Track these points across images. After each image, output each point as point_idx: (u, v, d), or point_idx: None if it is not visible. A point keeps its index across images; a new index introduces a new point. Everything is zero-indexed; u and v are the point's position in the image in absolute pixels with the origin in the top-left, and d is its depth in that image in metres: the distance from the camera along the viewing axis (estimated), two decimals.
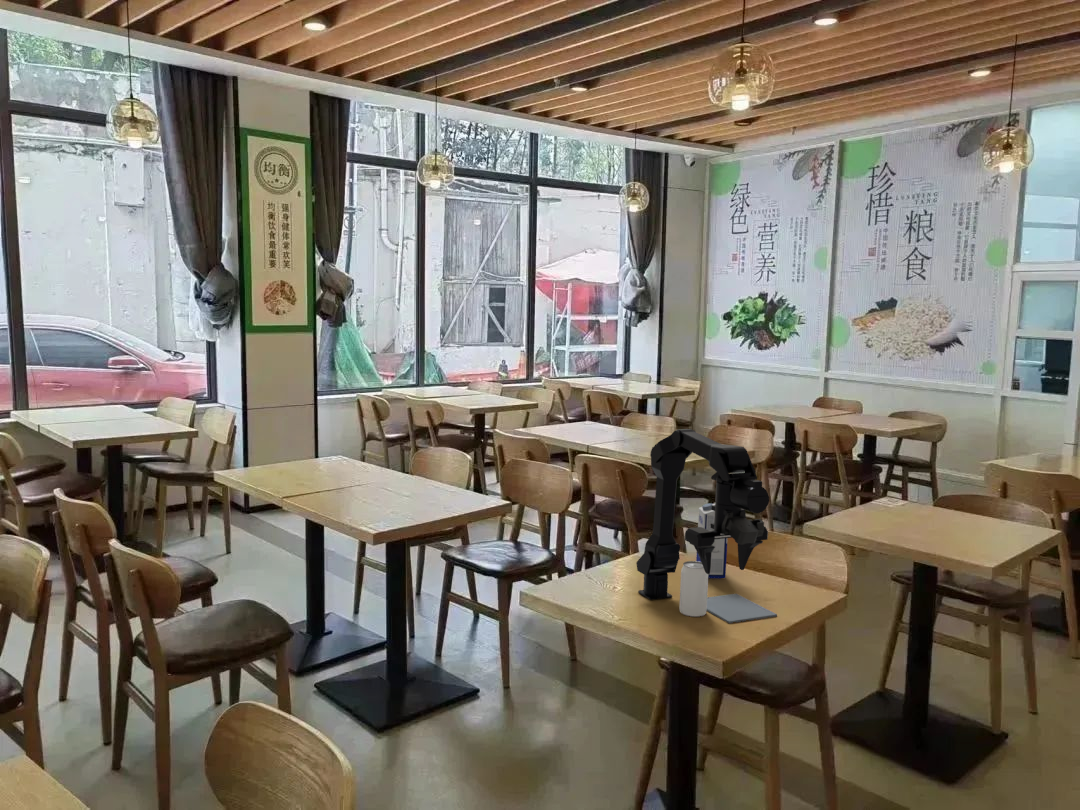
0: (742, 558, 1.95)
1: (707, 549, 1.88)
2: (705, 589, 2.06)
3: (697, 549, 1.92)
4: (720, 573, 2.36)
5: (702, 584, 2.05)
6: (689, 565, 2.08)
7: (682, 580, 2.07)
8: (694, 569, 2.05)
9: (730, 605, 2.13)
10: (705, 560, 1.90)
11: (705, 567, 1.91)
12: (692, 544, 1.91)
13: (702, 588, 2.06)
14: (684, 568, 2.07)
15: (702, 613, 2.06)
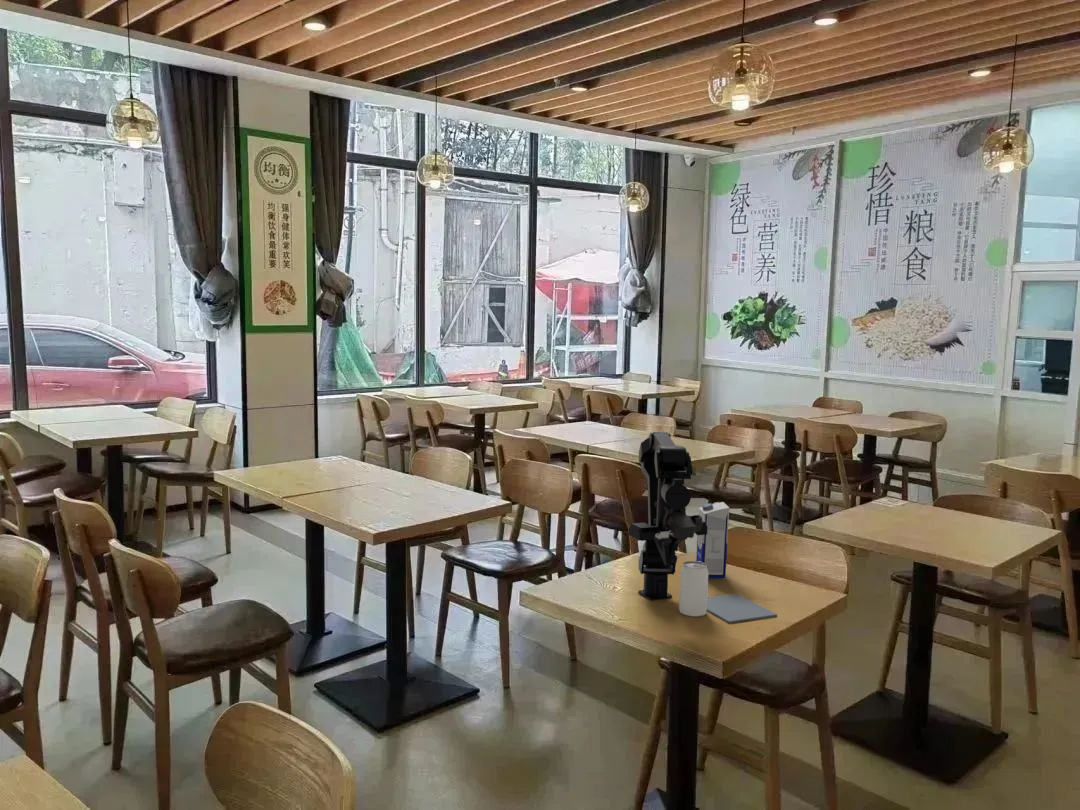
0: None
1: (665, 541, 2.00)
2: (705, 589, 2.06)
3: (656, 542, 2.05)
4: (720, 573, 2.36)
5: (702, 584, 2.05)
6: (689, 565, 2.08)
7: (682, 580, 2.07)
8: (694, 569, 2.05)
9: (730, 605, 2.13)
10: (663, 552, 2.03)
11: (664, 558, 2.04)
12: None
13: (702, 588, 2.06)
14: (684, 568, 2.07)
15: (702, 613, 2.06)
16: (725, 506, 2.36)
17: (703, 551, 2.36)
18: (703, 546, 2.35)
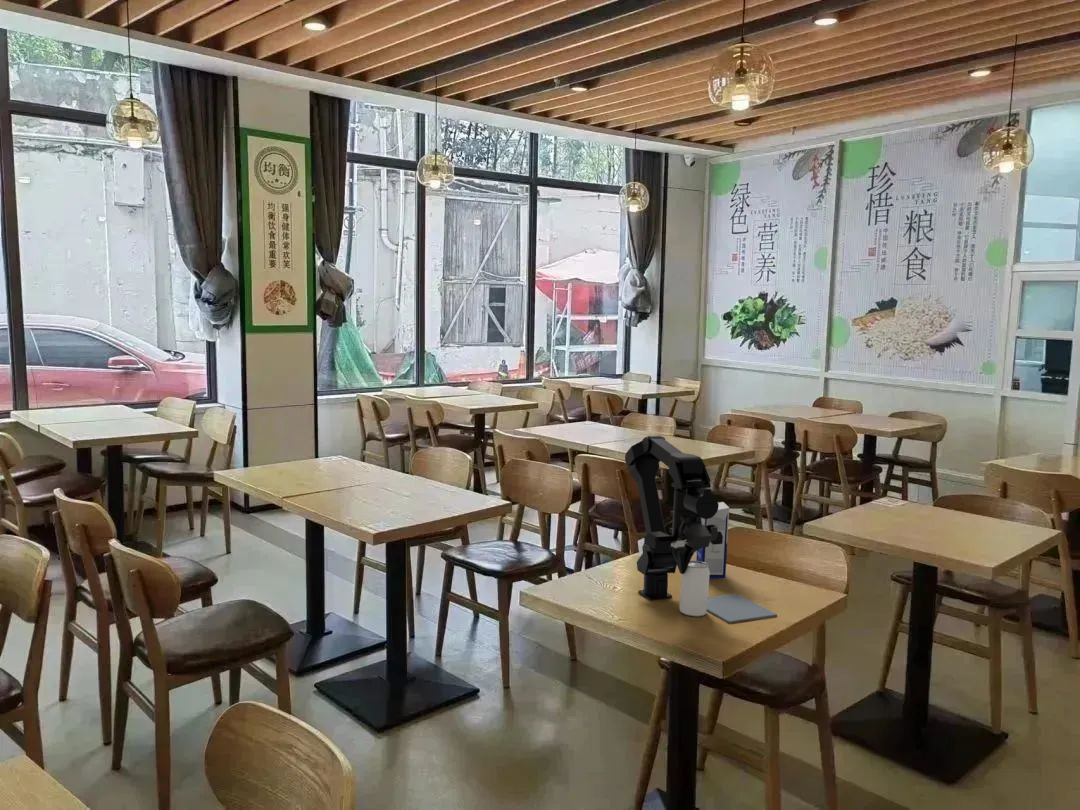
0: None
1: (681, 550, 2.03)
2: (706, 589, 2.06)
3: (672, 550, 2.07)
4: (720, 573, 2.36)
5: (703, 584, 2.06)
6: (690, 564, 2.08)
7: (683, 579, 2.07)
8: (696, 568, 2.05)
9: (730, 605, 2.13)
10: (679, 561, 2.05)
11: (679, 567, 2.06)
12: None
13: (703, 588, 2.06)
14: None
15: (702, 613, 2.06)
16: (725, 506, 2.36)
17: (703, 551, 2.36)
18: None
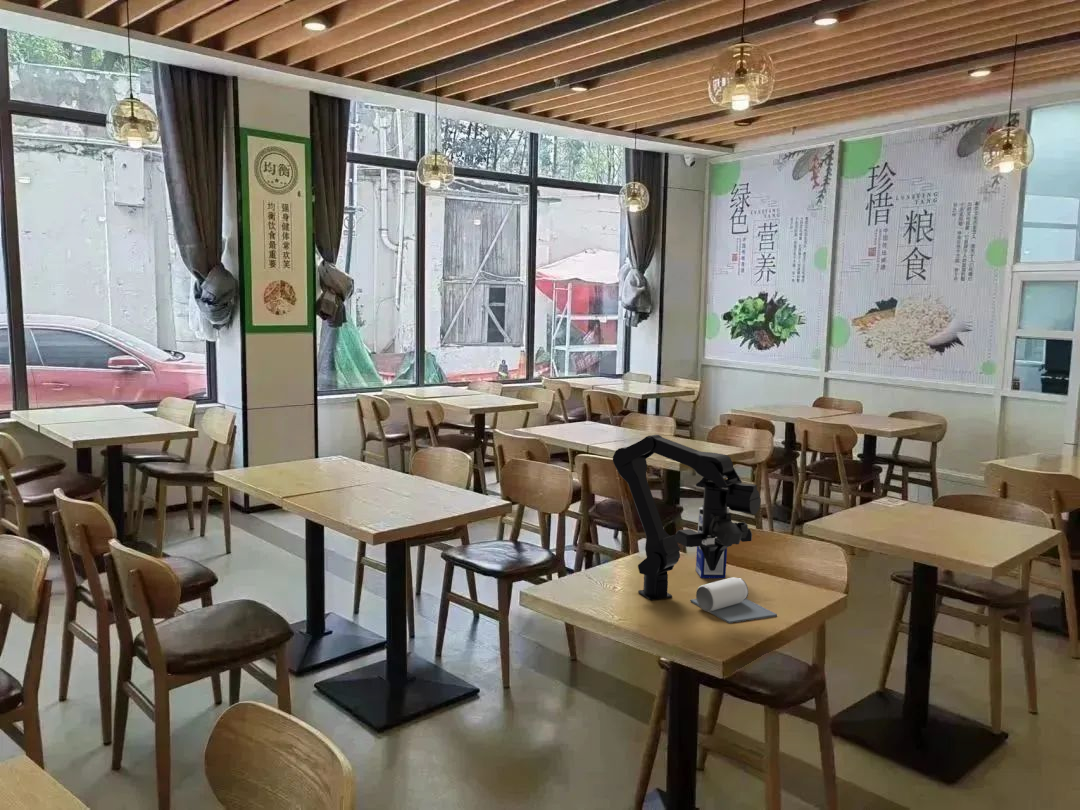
0: None
1: (711, 548, 2.06)
2: (732, 602, 2.11)
3: (702, 548, 2.10)
4: (720, 573, 2.36)
5: (737, 598, 2.11)
6: None
7: (729, 579, 2.14)
8: (746, 586, 2.14)
9: None
10: (709, 558, 2.09)
11: (709, 564, 2.10)
12: None
13: (735, 599, 2.11)
14: (738, 578, 2.15)
15: (715, 605, 2.08)
16: None
17: None
18: None
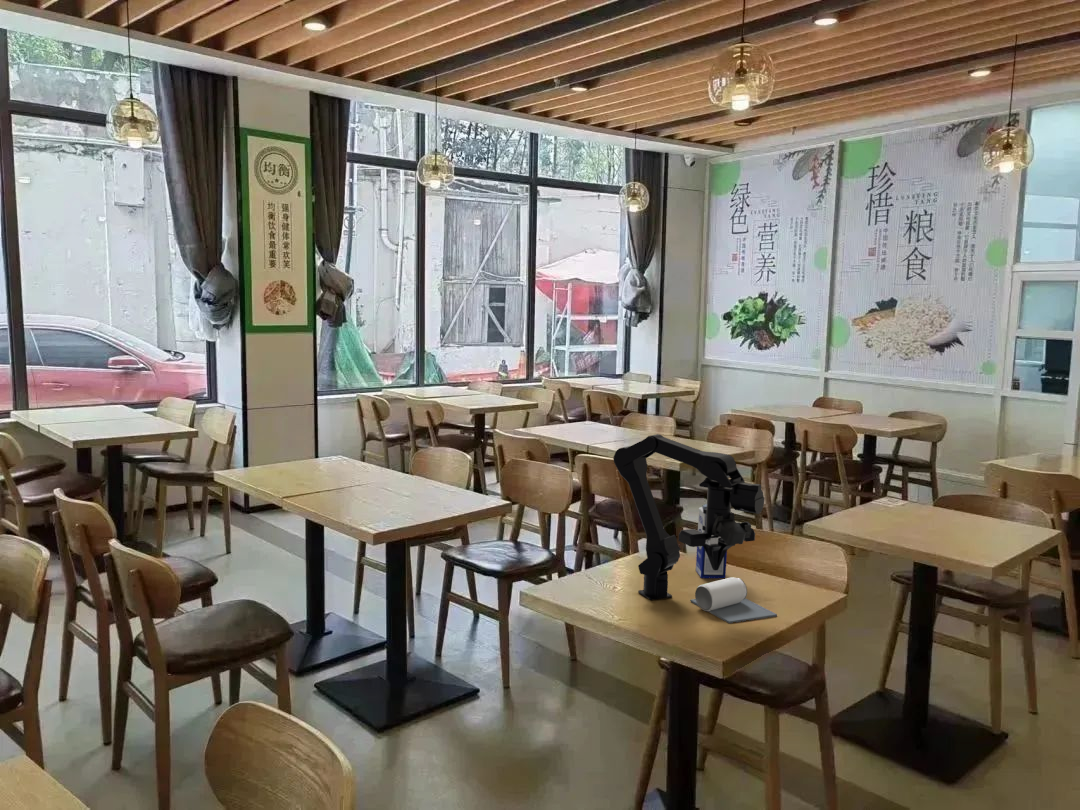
0: None
1: (714, 548, 2.06)
2: (732, 601, 2.11)
3: (705, 548, 2.11)
4: (720, 573, 2.36)
5: (736, 596, 2.12)
6: None
7: (727, 578, 2.14)
8: (744, 585, 2.14)
9: (730, 605, 2.13)
10: (712, 558, 2.09)
11: (712, 564, 2.10)
12: None
13: (734, 597, 2.11)
14: (736, 578, 2.16)
15: (715, 603, 2.08)
16: None
17: (703, 551, 2.36)
18: None
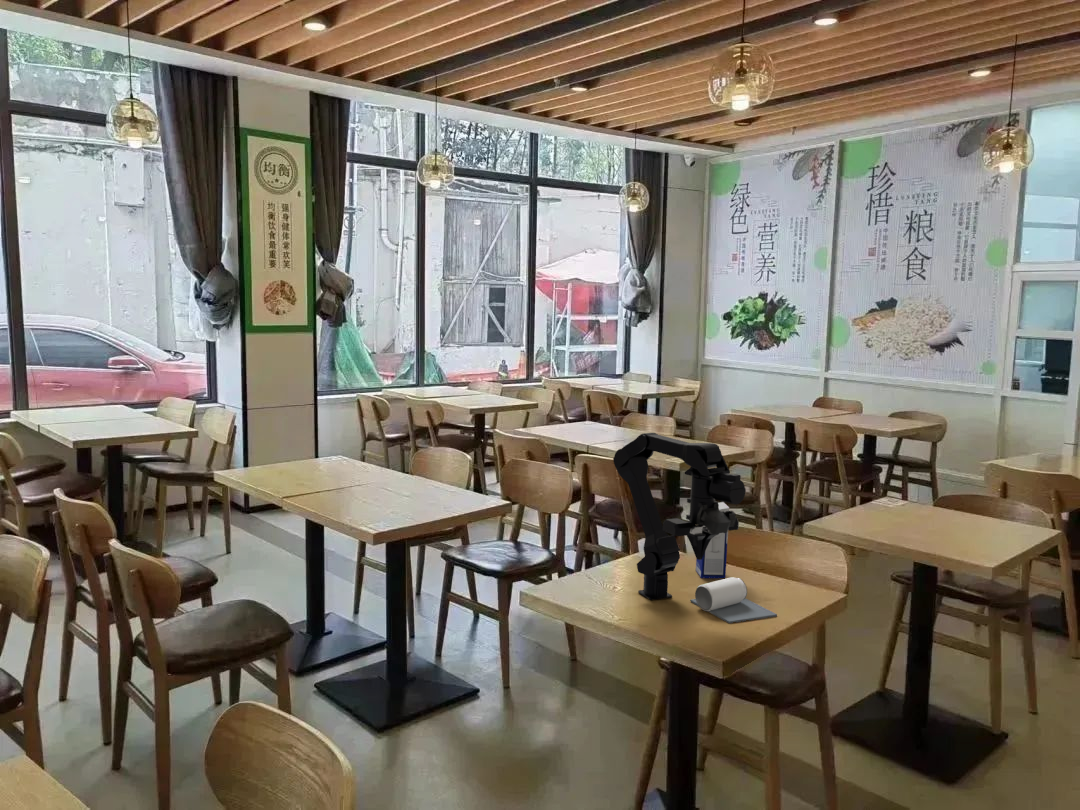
0: None
1: (698, 537, 2.05)
2: (732, 601, 2.11)
3: (689, 537, 2.09)
4: (720, 573, 2.36)
5: (736, 596, 2.12)
6: None
7: (727, 578, 2.14)
8: (744, 585, 2.14)
9: (730, 605, 2.13)
10: (696, 547, 2.08)
11: (696, 553, 2.09)
12: None
13: (734, 597, 2.11)
14: (736, 578, 2.16)
15: (715, 603, 2.08)
16: (725, 506, 2.36)
17: None
18: None
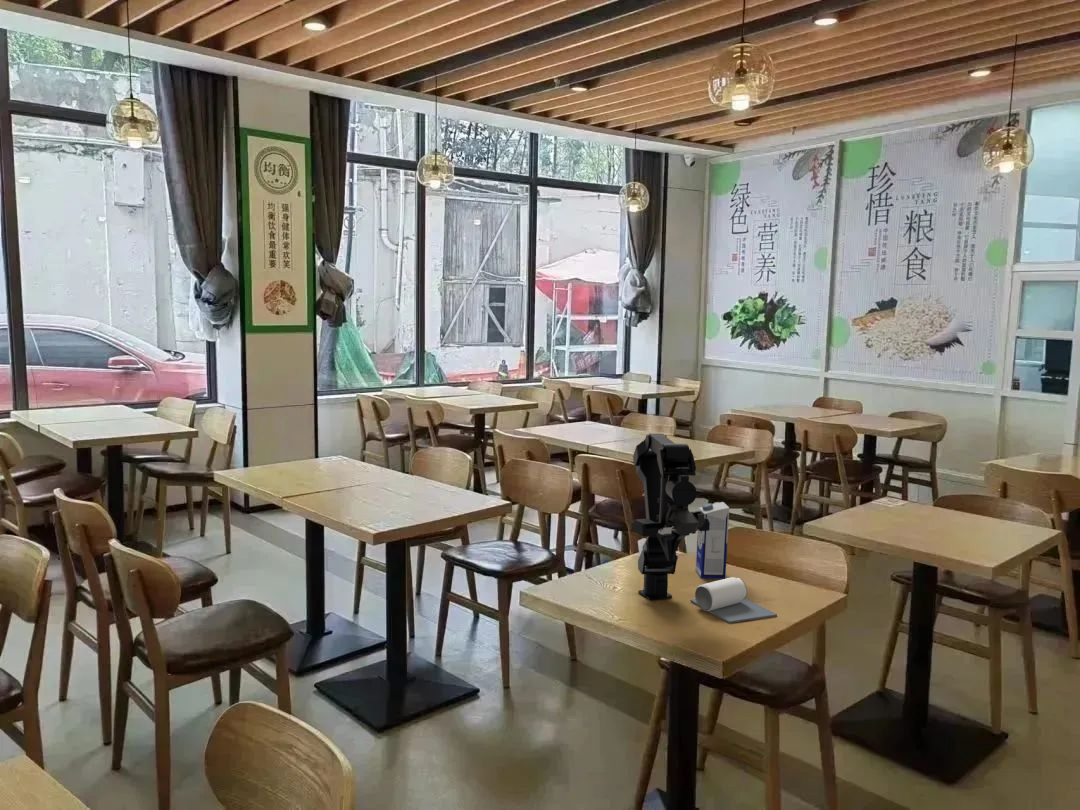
0: None
1: (667, 537, 2.03)
2: (732, 601, 2.11)
3: (659, 538, 2.07)
4: (720, 573, 2.36)
5: (736, 596, 2.12)
6: None
7: (727, 578, 2.14)
8: (744, 585, 2.14)
9: (730, 605, 2.13)
10: (666, 548, 2.06)
11: (666, 554, 2.07)
12: None
13: (734, 597, 2.11)
14: (736, 578, 2.16)
15: (715, 603, 2.08)
16: (725, 506, 2.36)
17: (703, 551, 2.36)
18: (703, 546, 2.35)
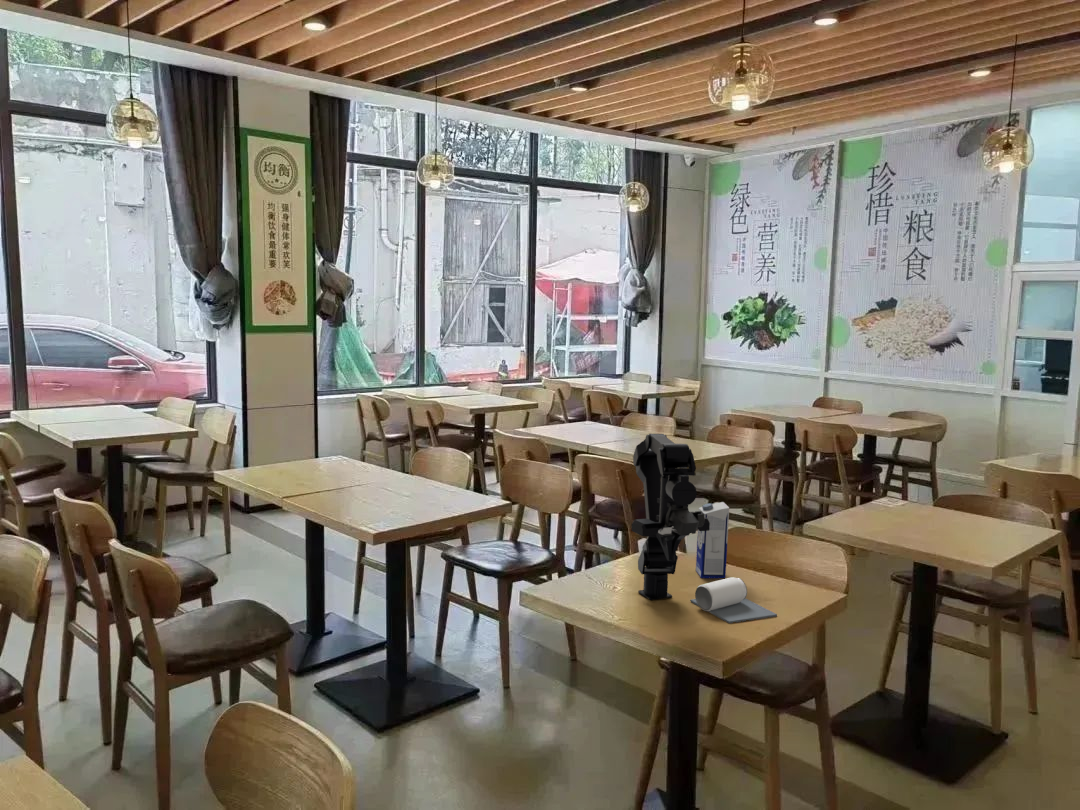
0: None
1: (667, 537, 2.03)
2: (732, 601, 2.11)
3: (659, 538, 2.07)
4: (720, 573, 2.36)
5: (736, 596, 2.12)
6: None
7: (727, 578, 2.14)
8: (744, 585, 2.14)
9: (730, 605, 2.13)
10: (666, 548, 2.06)
11: (666, 554, 2.07)
12: None
13: (734, 597, 2.11)
14: (736, 578, 2.16)
15: (715, 603, 2.08)
16: (725, 506, 2.36)
17: (703, 551, 2.36)
18: (703, 546, 2.35)
